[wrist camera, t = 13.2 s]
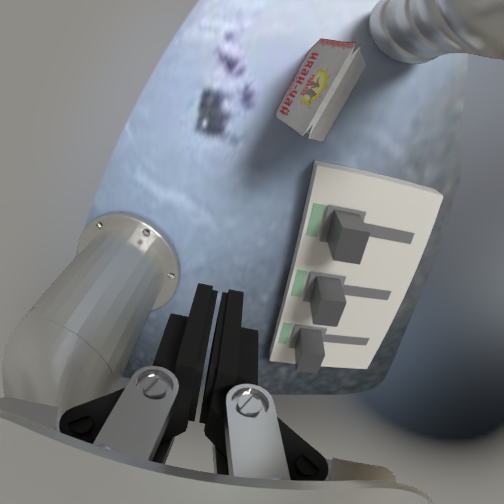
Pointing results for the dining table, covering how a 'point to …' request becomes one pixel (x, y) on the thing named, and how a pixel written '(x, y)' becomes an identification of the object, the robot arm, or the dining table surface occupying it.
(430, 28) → the plastic bottle
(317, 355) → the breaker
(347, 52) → the white printed box
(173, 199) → the dining table surface
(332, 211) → the block
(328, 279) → the block
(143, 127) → the dining table surface
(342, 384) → the dining table surface
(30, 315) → the robot arm
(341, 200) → the panel
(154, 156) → the dining table surface
